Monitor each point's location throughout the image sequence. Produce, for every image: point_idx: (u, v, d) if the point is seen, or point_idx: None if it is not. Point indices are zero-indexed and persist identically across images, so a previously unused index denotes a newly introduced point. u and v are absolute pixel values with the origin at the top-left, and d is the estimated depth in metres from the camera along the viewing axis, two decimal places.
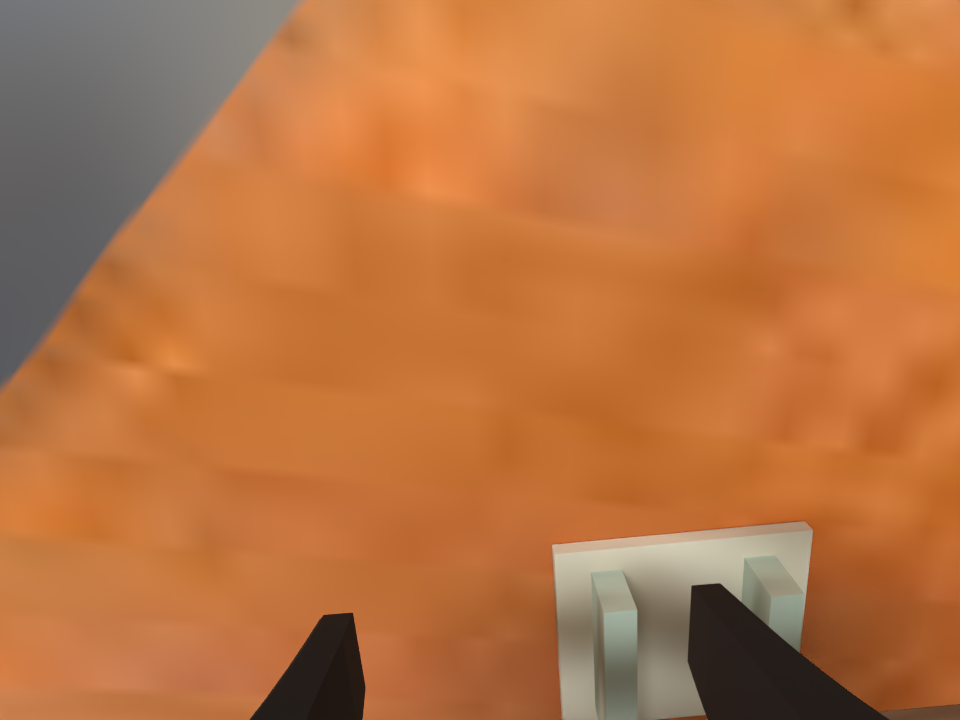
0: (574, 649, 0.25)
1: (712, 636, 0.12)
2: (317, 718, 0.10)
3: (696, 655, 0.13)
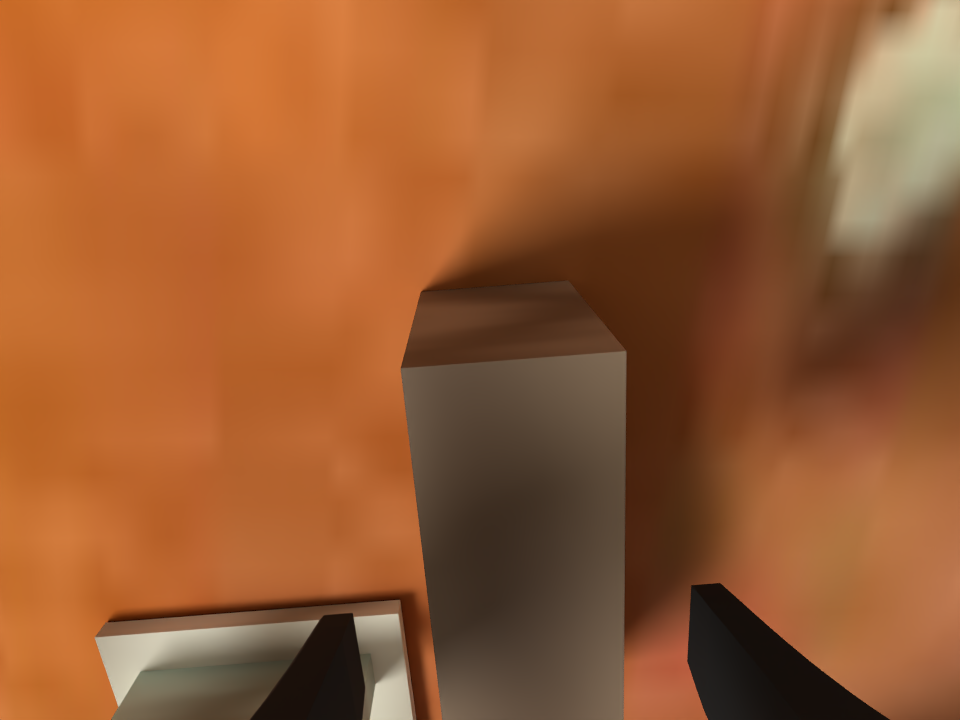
0: None
1: (712, 636, 0.12)
2: (317, 718, 0.10)
3: (696, 655, 0.13)
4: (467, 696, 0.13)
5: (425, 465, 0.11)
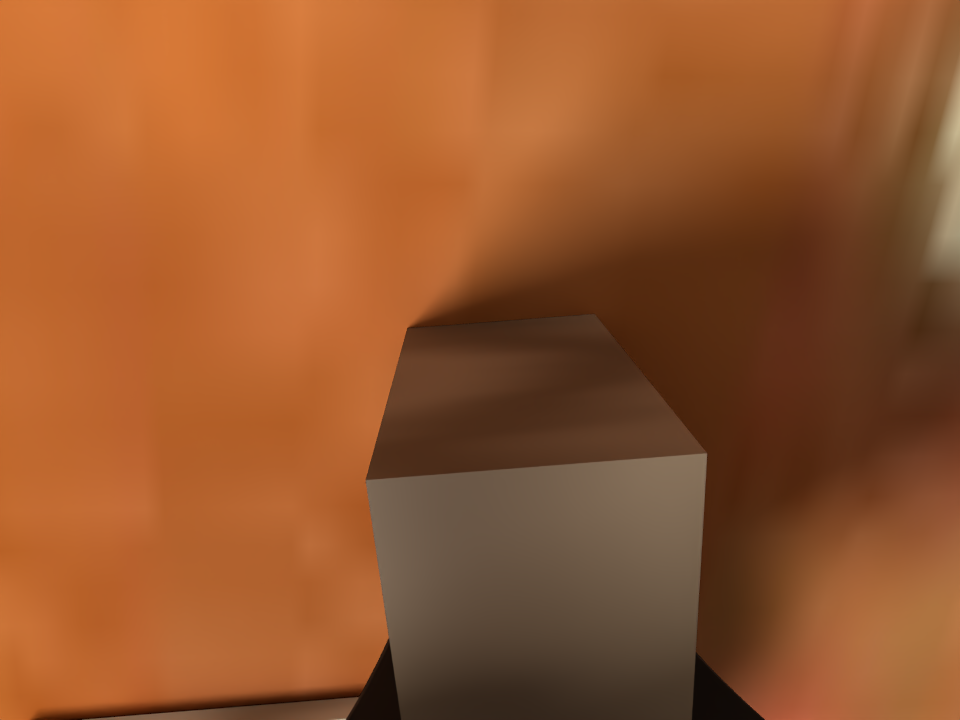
0: None
1: None
2: None
3: None
4: None
5: (404, 614, 0.07)
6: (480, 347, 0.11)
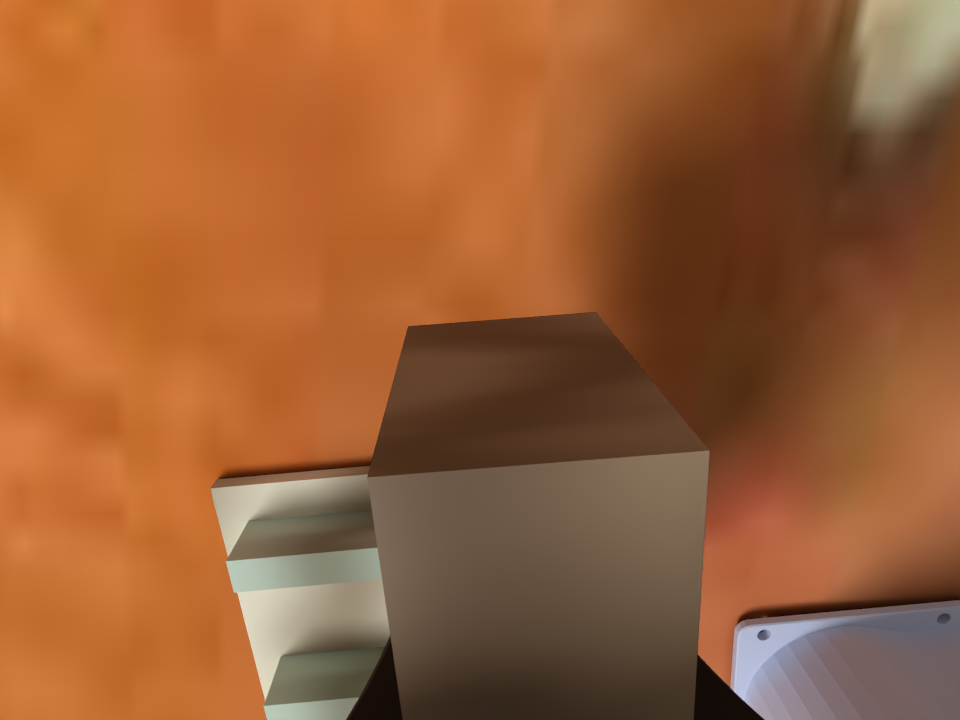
0: None
1: None
2: None
3: None
4: None
5: (405, 612, 0.07)
6: (481, 345, 0.11)
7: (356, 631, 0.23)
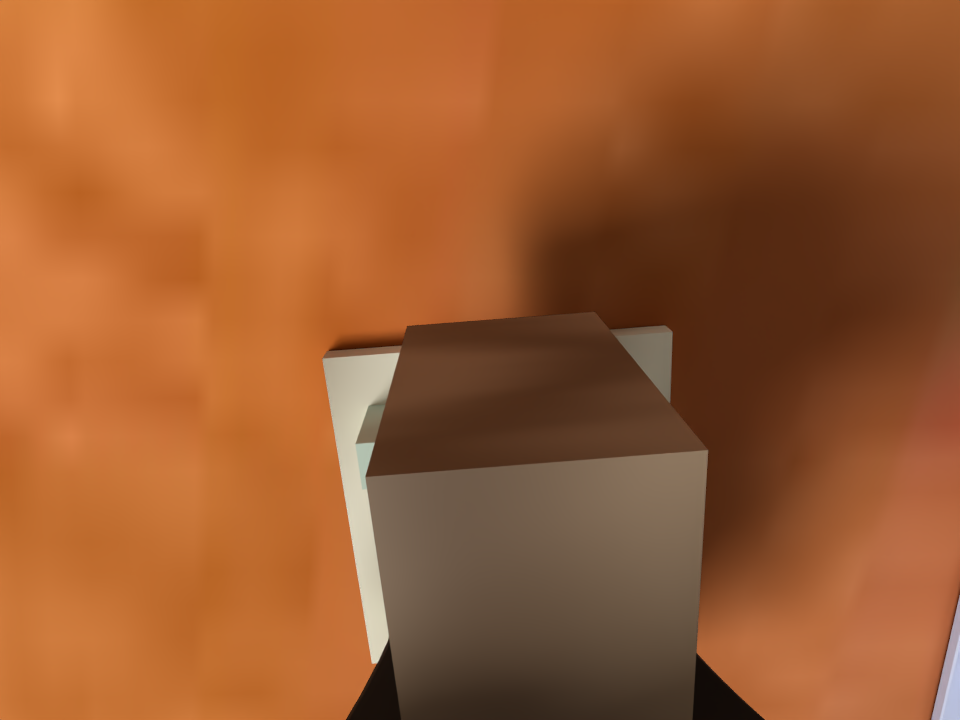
0: None
1: None
2: None
3: None
4: None
5: (405, 612, 0.07)
6: (480, 345, 0.11)
7: None
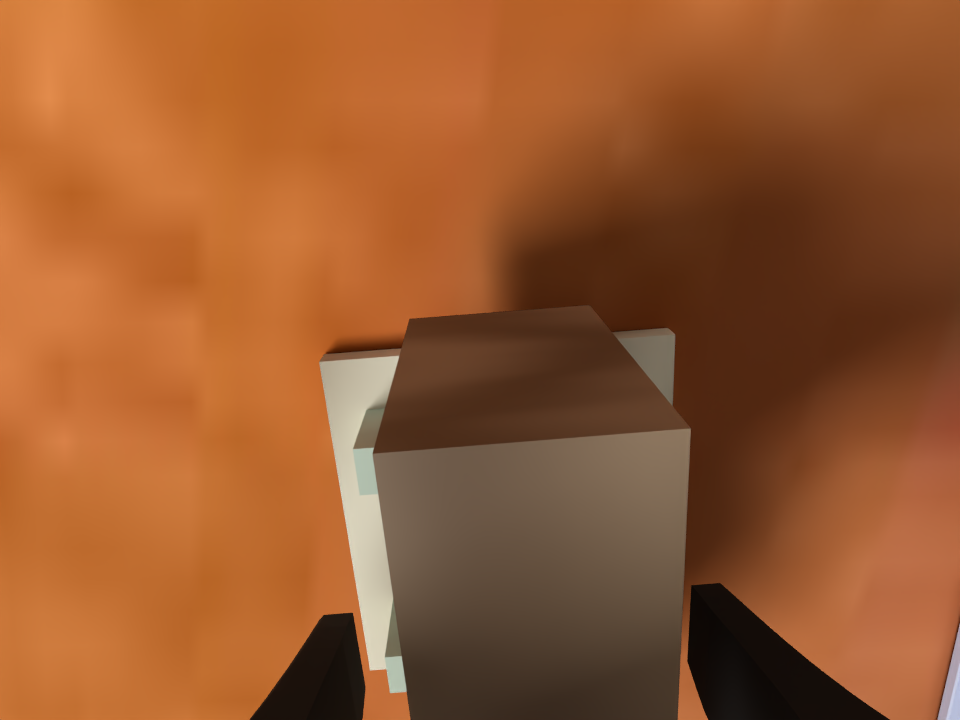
0: None
1: (712, 636, 0.12)
2: (317, 718, 0.10)
3: (696, 655, 0.13)
4: None
5: (408, 581, 0.08)
6: (479, 336, 0.11)
7: None
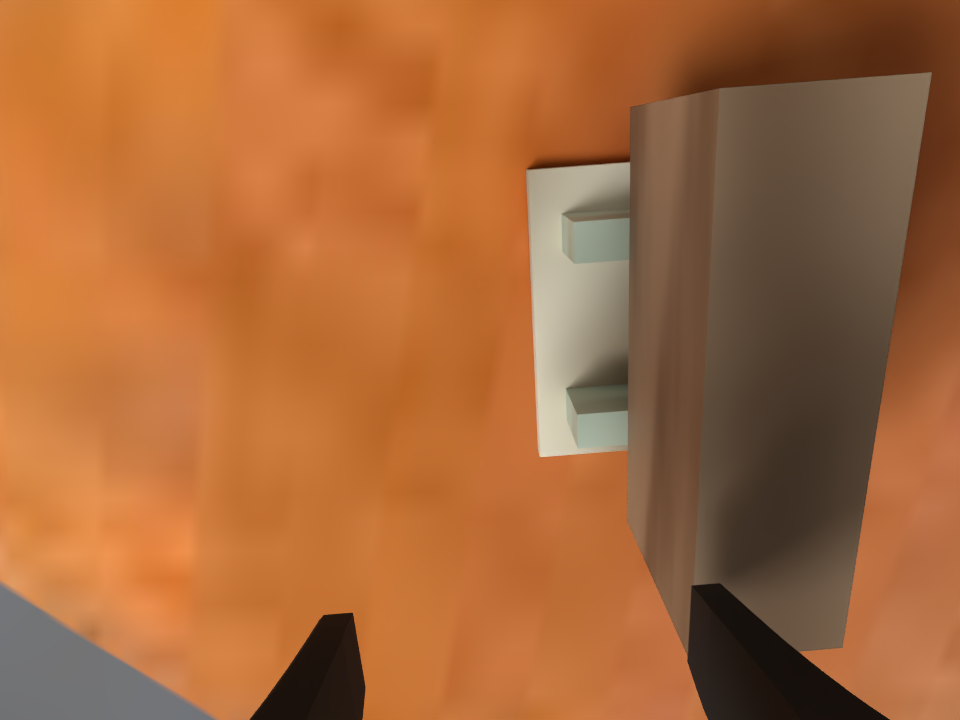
0: None
1: (712, 636, 0.12)
2: (317, 718, 0.10)
3: (696, 655, 0.13)
4: (727, 449, 0.13)
5: (726, 195, 0.12)
6: None
7: None
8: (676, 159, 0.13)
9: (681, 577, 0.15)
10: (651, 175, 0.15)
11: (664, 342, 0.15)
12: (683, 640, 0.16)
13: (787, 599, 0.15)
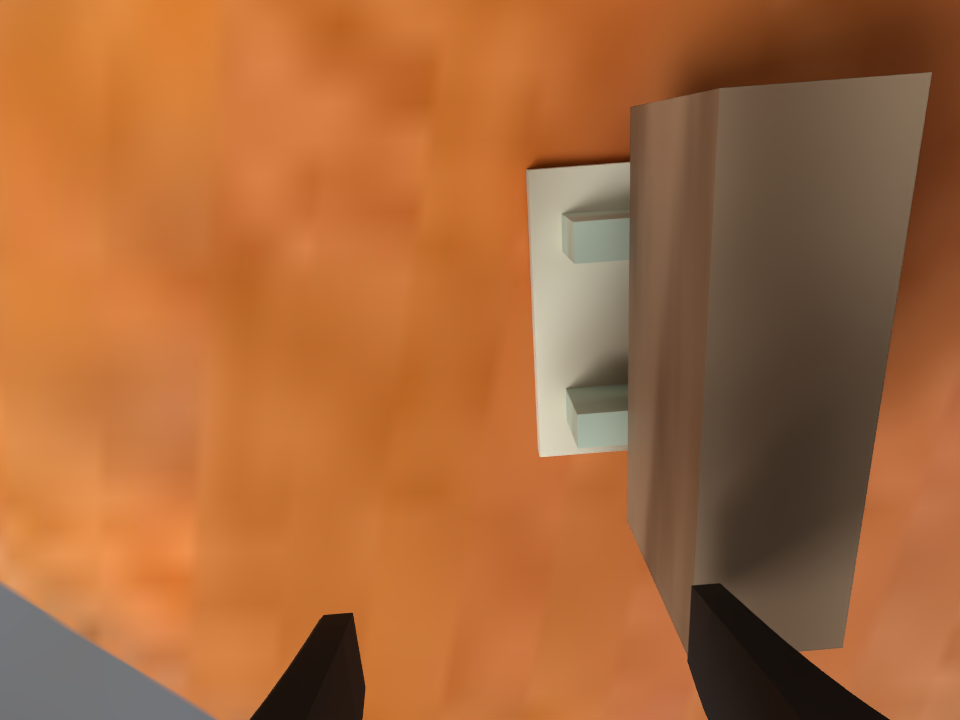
0: None
1: (712, 636, 0.12)
2: (317, 718, 0.10)
3: (696, 655, 0.13)
4: (727, 449, 0.13)
5: (726, 195, 0.12)
6: None
7: None
8: (676, 159, 0.13)
9: (681, 577, 0.15)
10: (651, 175, 0.15)
11: (664, 342, 0.15)
12: (683, 640, 0.16)
13: (787, 599, 0.15)
